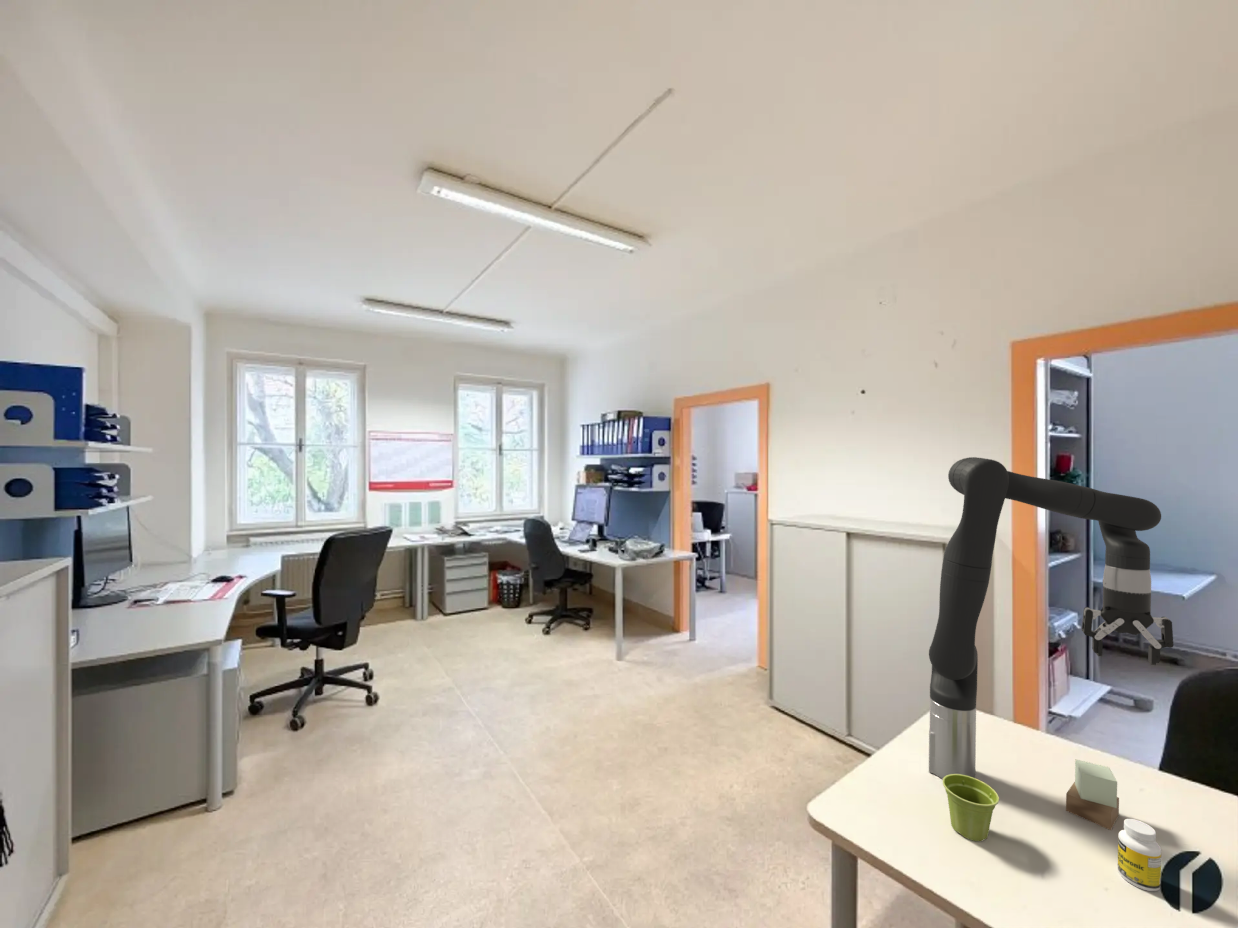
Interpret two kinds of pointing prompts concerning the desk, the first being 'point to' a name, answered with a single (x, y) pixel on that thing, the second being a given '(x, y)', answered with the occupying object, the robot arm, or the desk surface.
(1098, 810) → the walnut block
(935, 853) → the desk surface
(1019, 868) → the desk surface
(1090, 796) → the sage cube
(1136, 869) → the supplement bottle
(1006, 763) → the desk surface
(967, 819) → the plant pot
